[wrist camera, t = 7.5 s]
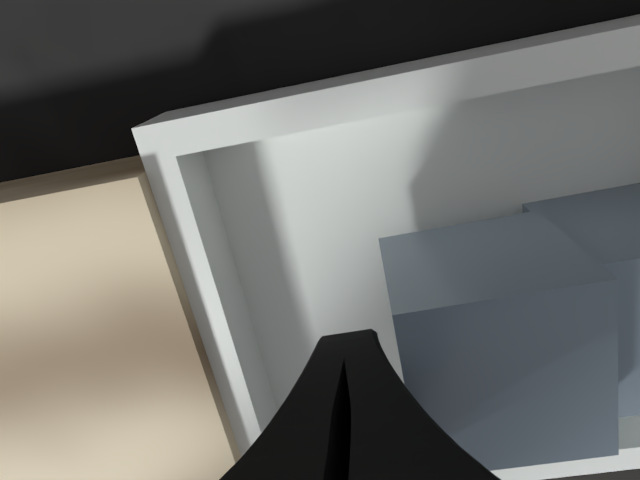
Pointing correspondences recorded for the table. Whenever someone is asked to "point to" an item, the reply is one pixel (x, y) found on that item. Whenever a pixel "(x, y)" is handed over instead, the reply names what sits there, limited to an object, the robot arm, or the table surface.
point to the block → (609, 265)
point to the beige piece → (100, 337)
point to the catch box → (377, 194)
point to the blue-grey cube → (508, 338)
